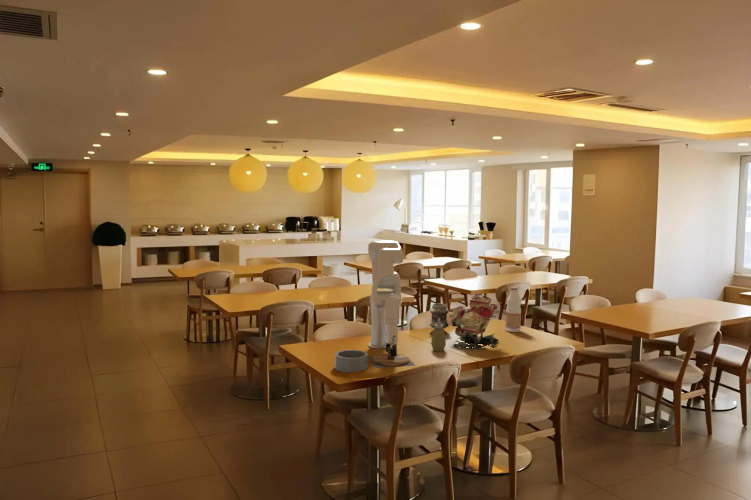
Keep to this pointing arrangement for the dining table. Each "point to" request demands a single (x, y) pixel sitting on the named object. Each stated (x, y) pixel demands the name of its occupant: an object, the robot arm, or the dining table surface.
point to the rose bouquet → (474, 322)
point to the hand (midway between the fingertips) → (391, 354)
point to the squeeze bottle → (438, 337)
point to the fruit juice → (513, 311)
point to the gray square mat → (390, 366)
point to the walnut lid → (390, 359)
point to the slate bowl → (351, 361)
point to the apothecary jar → (439, 315)
